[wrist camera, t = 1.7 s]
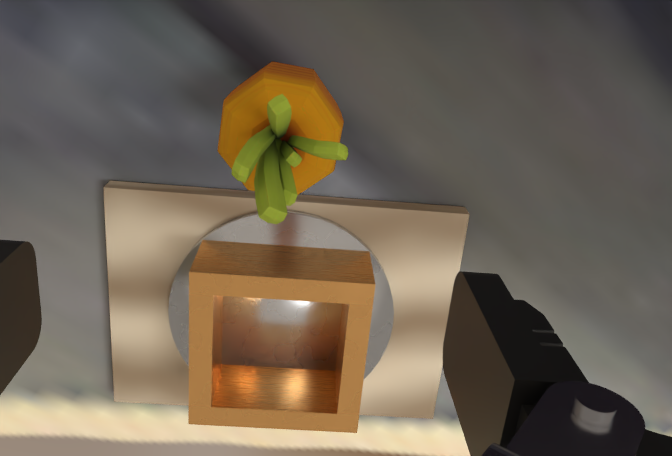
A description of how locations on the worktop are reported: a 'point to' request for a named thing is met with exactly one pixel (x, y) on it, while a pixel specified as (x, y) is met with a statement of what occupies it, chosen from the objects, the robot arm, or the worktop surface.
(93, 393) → the worktop surface
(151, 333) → the base board
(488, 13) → the worktop surface
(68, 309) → the worktop surface
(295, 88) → the carrot
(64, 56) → the worktop surface
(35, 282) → the robot arm
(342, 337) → the socket collar
